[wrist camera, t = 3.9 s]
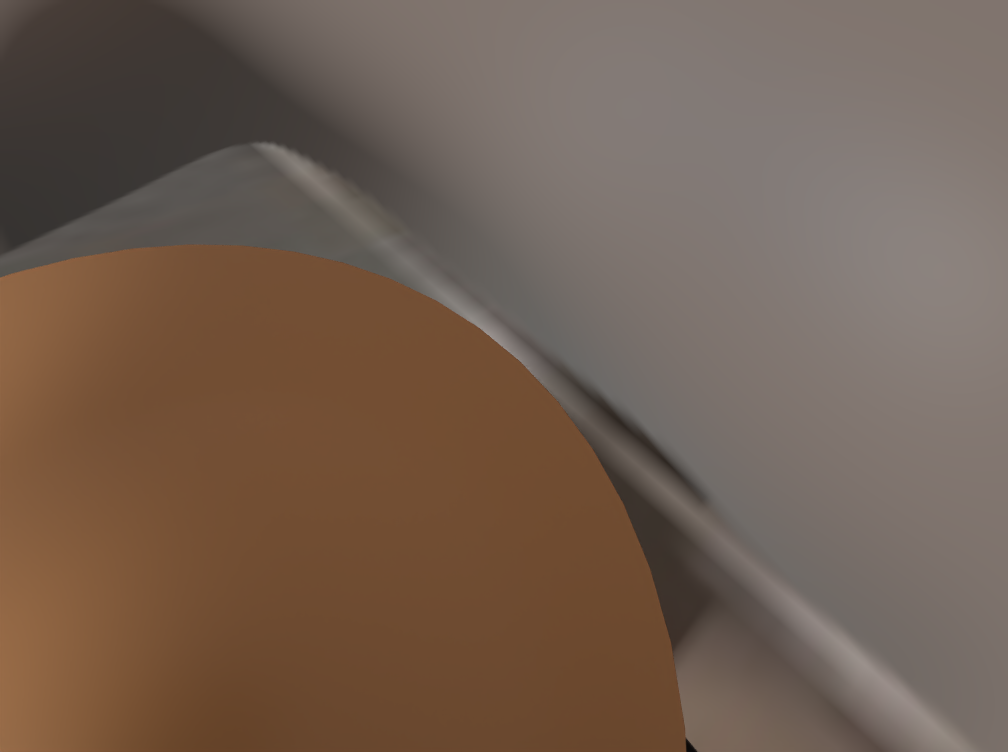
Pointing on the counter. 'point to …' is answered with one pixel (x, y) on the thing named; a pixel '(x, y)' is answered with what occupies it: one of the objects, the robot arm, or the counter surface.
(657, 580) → the counter surface
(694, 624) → the counter surface
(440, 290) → the counter surface
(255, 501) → the plug
